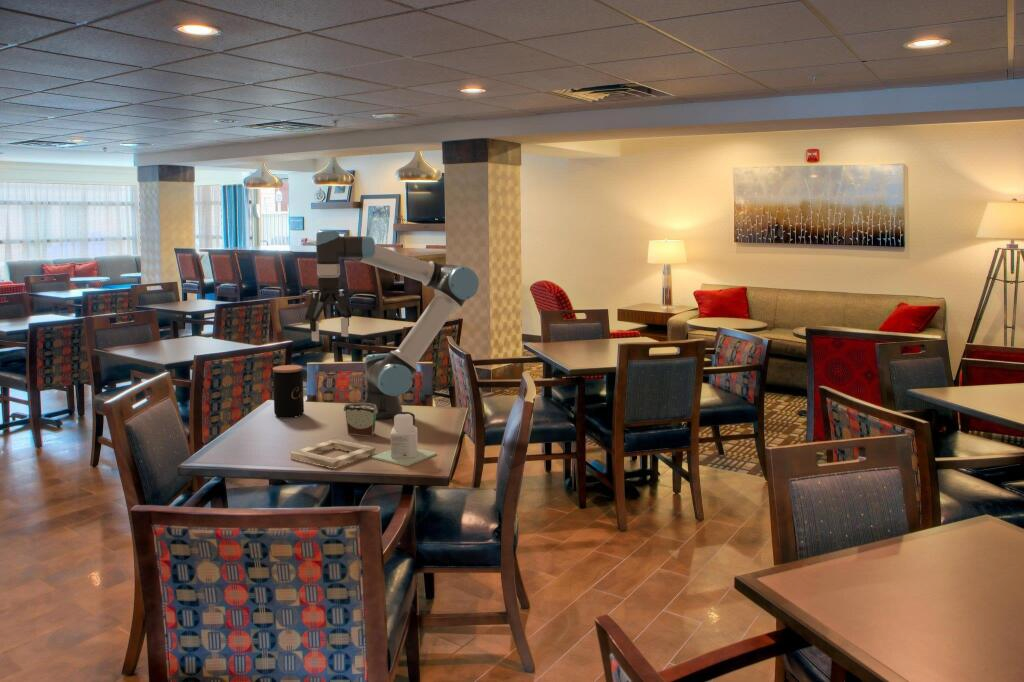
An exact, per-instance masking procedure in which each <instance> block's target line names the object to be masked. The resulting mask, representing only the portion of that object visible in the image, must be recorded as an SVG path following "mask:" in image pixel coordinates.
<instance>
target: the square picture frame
mask: <svg viewBox="0 0 1024 682" xmlns="http://www.w3.org/2000/svg"><path fill="white" fill-rule="evenodd" d="M332 448H337V449H336V450H338V449H341V450H340V451H343V450H345V451H344V452H347V451H349V452H348V453H345V454H342V455H338V456H336V457H329V456H326V455H321V453H320V452H322V453H324V452H323V451H325V452H327V451H326V450H328V451H330V450H329V449H331V450H333V449H332ZM317 453H319V454H317ZM374 454H375V455H377V447H373V446H369V445H364V444H360V443H355V442H351V441H347V440H346V441H344V440H341V439H337V438H333V439H330V440H326V441H323V442H320V443H319V442H318V443H317V444H313V445H310V446H307V447H304V448H303V447H302V448H301V449H297V450H294V451H291V452H290V459H291V458H293V459H292V460H294V459H297V460H296V461H298V460H302V461H306V462H310V463H315V464H320V465H324V466H329V467H333V468H334V467H337V466H340V465H344V464H346V465H348V464H347V463H349V464H351V463H350V462H352V463H354V462H353V461H355V462H357V461H356V460H358V461H360V460H359V459H361V460H363V459H366V458H368V456H369V457H372V456H374ZM371 455H372V456H371ZM365 457H366V458H365ZM362 458H363V459H362ZM302 461H301V462H302ZM306 462H305V463H306ZM310 463H309V464H310ZM344 466H345V465H344Z"/></svg>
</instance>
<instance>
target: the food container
mask: <svg viewBox="0 0 1024 682" xmlns="http://www.w3.org/2000/svg"><path fill="white" fill-rule="evenodd" d="M343 411H344V412H345V420H346V428H347V430H346V431H347V434H348V435H351V434H356V435H355V436H361V435H364V436H363V437H370V436H373V437H375V433H376V431H375V429H376V420H377V419H376V414H377V413H378V410H377V407H376V405H375V404H371V403H364V402H351V403H347V404H344V407H343Z"/></svg>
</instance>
